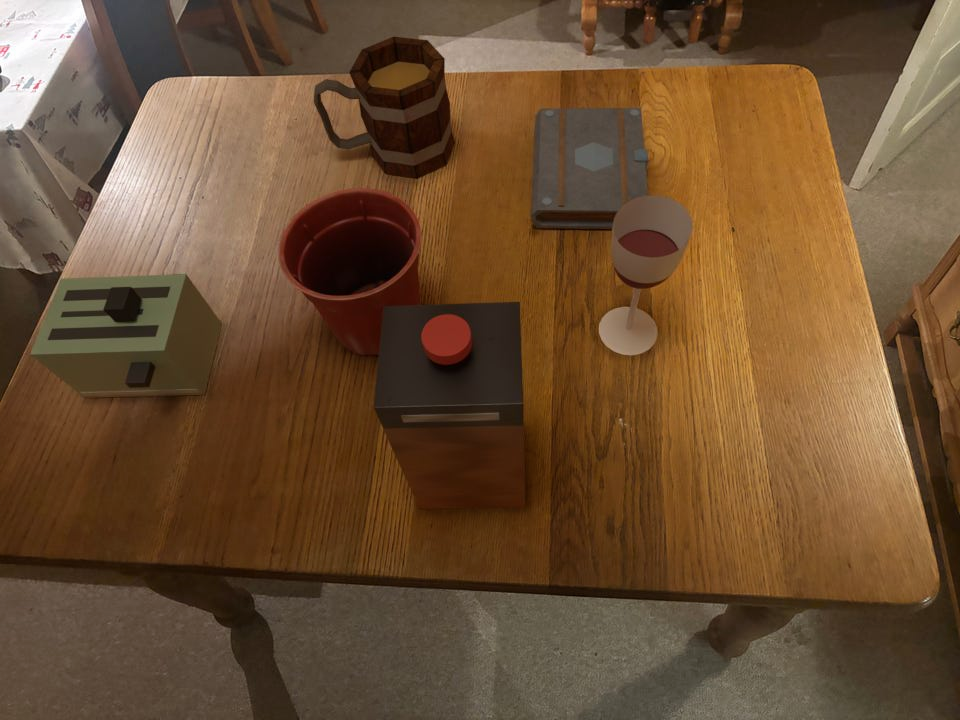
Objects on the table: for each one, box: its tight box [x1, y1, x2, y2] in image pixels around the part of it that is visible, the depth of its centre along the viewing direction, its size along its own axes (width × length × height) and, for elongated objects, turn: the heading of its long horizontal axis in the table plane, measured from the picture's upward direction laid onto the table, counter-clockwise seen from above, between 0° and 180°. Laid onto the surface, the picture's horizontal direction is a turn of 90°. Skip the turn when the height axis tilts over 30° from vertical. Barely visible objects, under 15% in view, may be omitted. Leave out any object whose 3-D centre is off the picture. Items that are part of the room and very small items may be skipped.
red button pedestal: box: [373, 301, 526, 510], centre depth 66 cm, size 12×10×26 cm
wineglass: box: [598, 194, 694, 356], centre depth 77 cm, size 8×9×20 cm
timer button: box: [421, 314, 472, 365], centre depth 53 cm, size 4×4×1 cm
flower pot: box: [277, 187, 423, 356], centre depth 82 cm, size 16×16×16 cm
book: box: [530, 107, 649, 230], centre depth 98 cm, size 21×16×5 cm
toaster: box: [29, 273, 223, 399], centre depth 82 cm, size 16×14×11 cm
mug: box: [313, 36, 456, 180], centre depth 99 cm, size 20×14×15 cm
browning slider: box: [103, 287, 142, 322], centre depth 77 cm, size 2×3×3 cm
